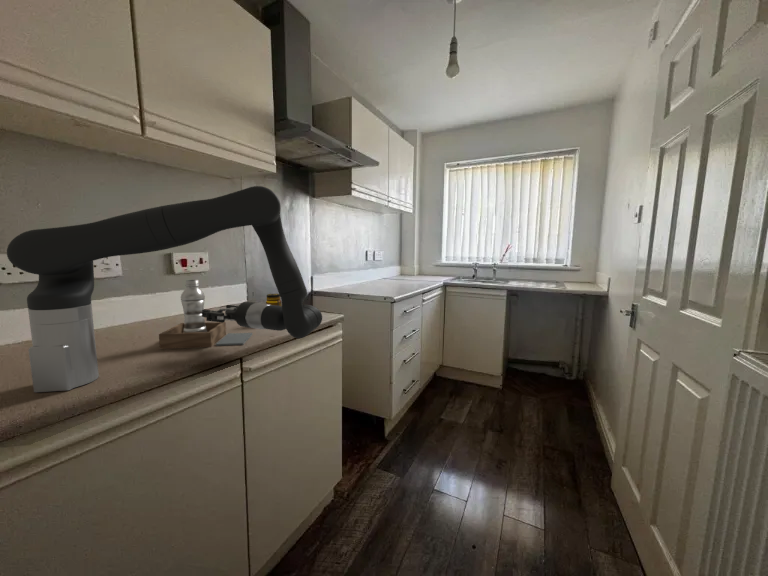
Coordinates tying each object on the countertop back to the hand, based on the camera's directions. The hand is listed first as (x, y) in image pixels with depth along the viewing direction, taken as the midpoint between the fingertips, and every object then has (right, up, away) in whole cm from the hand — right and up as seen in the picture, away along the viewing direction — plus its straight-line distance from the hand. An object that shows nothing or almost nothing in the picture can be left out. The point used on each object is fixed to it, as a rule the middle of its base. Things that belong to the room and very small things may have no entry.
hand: (215, 310), depth 92 cm
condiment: (+7, -8, +32) cm, 34 cm away
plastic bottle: (-9, -11, +5) cm, 15 cm away
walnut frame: (-9, -10, +5) cm, 14 cm away
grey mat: (+3, -10, +7) cm, 13 cm away
